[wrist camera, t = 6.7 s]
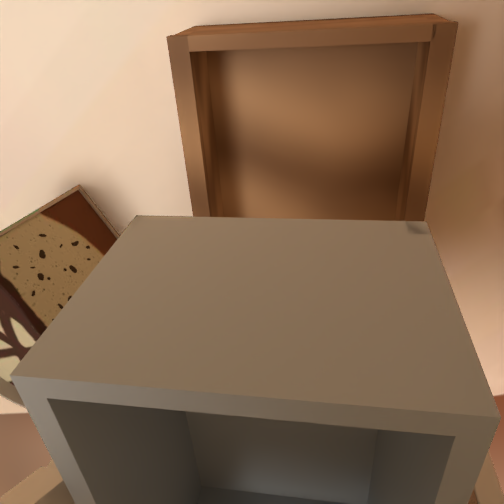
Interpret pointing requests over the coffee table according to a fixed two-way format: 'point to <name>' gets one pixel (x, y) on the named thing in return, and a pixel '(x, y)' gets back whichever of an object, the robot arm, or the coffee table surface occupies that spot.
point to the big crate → (312, 115)
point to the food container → (45, 272)
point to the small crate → (262, 368)
